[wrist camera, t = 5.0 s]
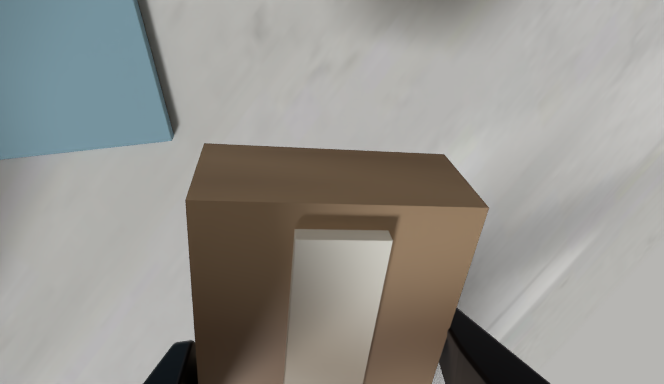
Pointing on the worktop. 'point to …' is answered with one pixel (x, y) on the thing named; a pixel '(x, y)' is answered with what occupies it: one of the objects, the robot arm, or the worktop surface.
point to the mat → (76, 78)
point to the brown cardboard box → (326, 263)
